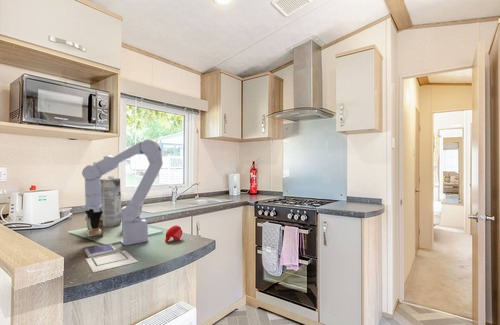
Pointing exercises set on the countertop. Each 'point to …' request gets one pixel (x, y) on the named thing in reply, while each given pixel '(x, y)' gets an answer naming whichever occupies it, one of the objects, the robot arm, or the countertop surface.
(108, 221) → the juice carton
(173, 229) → the red rounded piece
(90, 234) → the stamp
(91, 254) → the ink pad
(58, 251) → the countertop surface
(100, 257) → the paper
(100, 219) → the food container
